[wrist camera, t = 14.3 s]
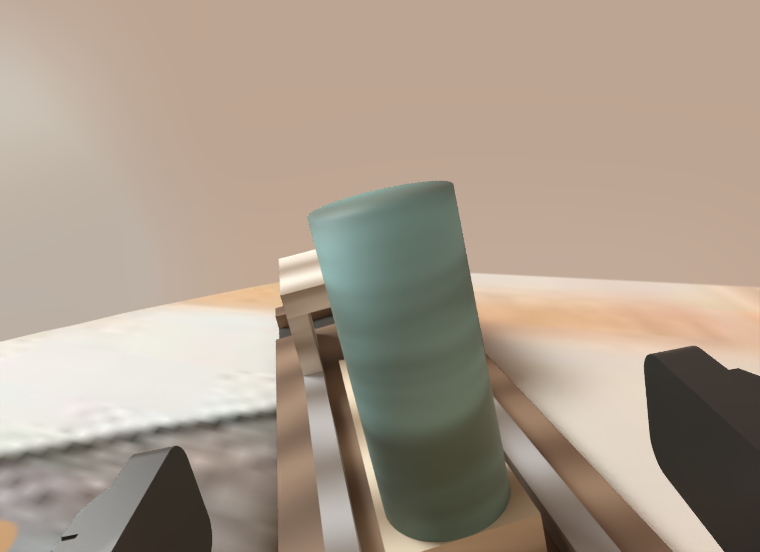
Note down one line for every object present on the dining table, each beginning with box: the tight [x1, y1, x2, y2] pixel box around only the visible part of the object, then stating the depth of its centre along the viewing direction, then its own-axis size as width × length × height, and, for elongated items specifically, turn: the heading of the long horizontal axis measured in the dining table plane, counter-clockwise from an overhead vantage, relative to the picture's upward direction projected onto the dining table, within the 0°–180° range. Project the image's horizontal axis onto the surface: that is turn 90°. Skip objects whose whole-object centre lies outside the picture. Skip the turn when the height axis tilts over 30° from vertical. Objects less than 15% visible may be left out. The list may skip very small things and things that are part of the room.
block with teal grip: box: [307, 181, 547, 552], centre depth 25 cm, size 16×5×13 cm, turn 9°
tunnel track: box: [276, 250, 673, 552], centre depth 34 cm, size 42×13×8 cm, turn 10°
